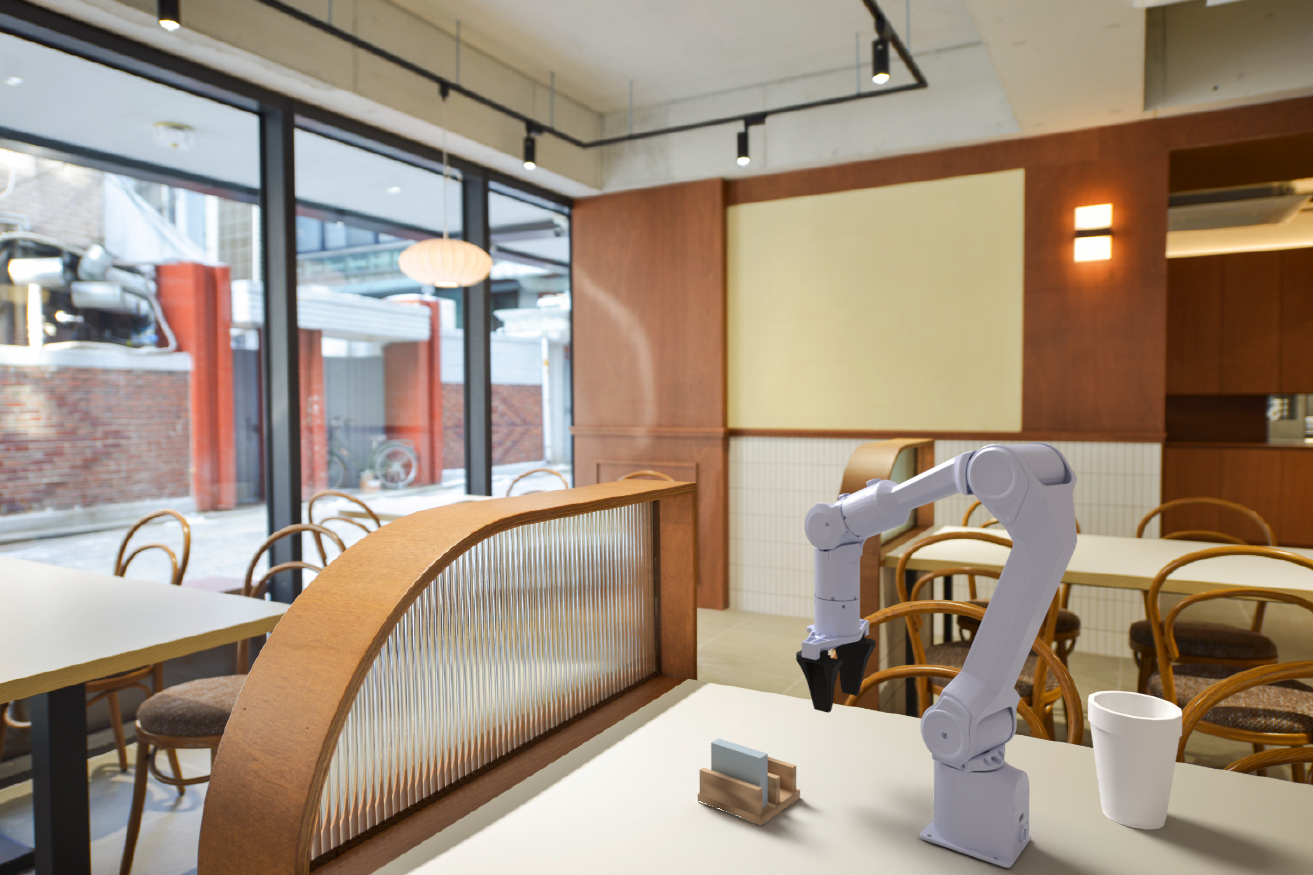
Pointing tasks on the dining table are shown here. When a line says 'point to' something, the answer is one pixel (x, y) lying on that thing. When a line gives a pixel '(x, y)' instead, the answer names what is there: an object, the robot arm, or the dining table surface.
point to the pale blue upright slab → (741, 764)
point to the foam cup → (1134, 755)
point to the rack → (750, 792)
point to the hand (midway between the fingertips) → (836, 701)
